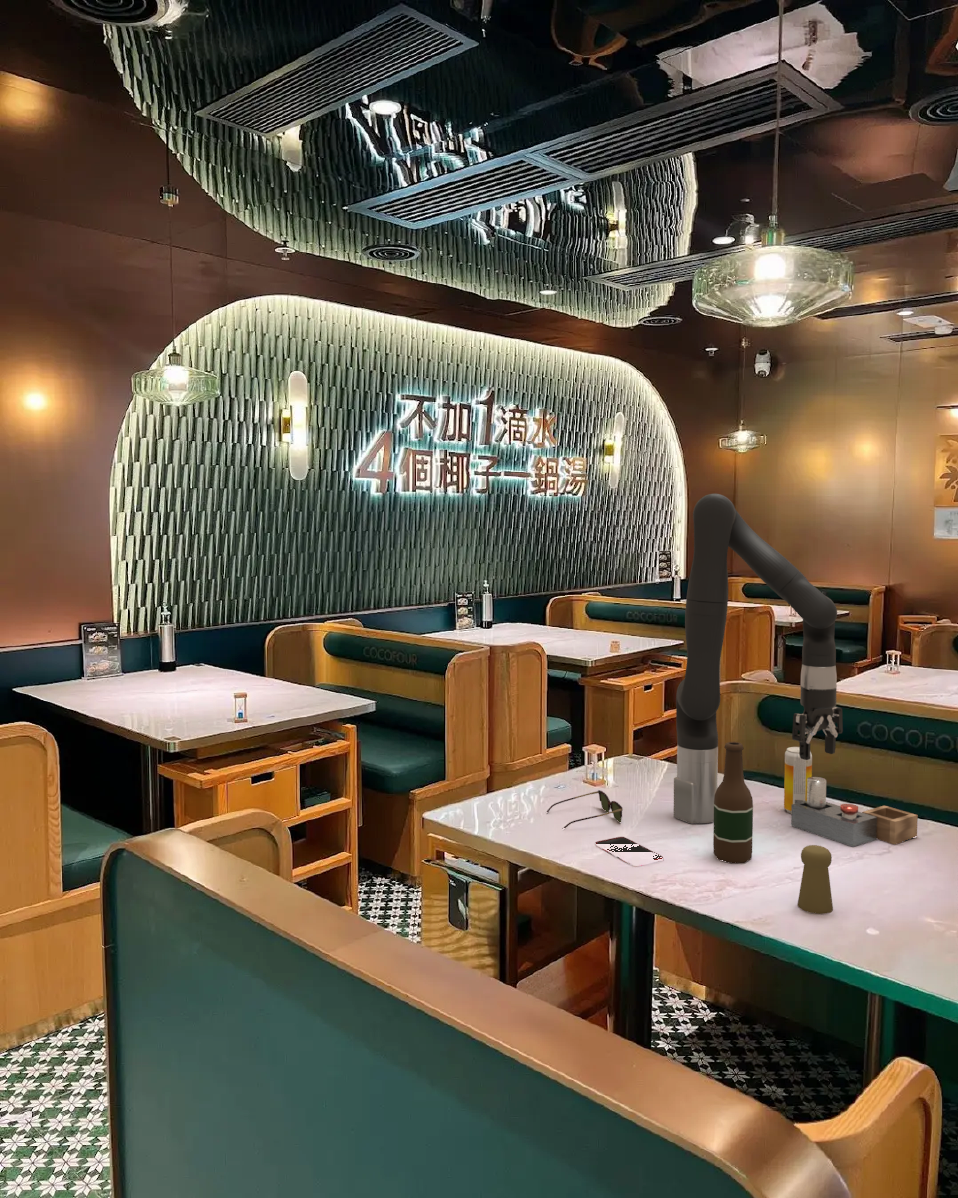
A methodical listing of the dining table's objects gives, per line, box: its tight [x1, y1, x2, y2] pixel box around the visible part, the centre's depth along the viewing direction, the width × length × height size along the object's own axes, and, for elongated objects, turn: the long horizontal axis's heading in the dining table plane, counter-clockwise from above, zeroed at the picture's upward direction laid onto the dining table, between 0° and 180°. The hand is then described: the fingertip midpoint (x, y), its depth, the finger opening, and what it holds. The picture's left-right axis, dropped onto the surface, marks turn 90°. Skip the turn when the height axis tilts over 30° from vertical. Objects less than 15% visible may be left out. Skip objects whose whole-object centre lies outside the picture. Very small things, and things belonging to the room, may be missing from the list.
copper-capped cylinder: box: [839, 803, 859, 820], centre depth 199 cm, size 4×4×6 cm
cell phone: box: [594, 836, 664, 860], centre depth 192 cm, size 8×15×1 cm, turn 27°
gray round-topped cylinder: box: [807, 776, 827, 810], centre depth 206 cm, size 4×4×11 cm
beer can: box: [783, 746, 813, 815], centre depth 217 cm, size 6×6×15 cm
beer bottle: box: [712, 741, 754, 864], centre depth 188 cm, size 8×8×24 cm
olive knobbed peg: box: [797, 844, 834, 915], centre depth 164 cm, size 6×6×11 cm
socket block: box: [790, 801, 877, 848], centre depth 202 cm, size 8×16×5 cm, turn 32°
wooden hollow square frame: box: [861, 805, 918, 845], centre depth 200 cm, size 8×8×5 cm
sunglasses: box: [546, 789, 624, 829], centre depth 214 cm, size 14×15×5 cm
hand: (817, 756), depth 205 cm, fingers open, 8 cm apart
